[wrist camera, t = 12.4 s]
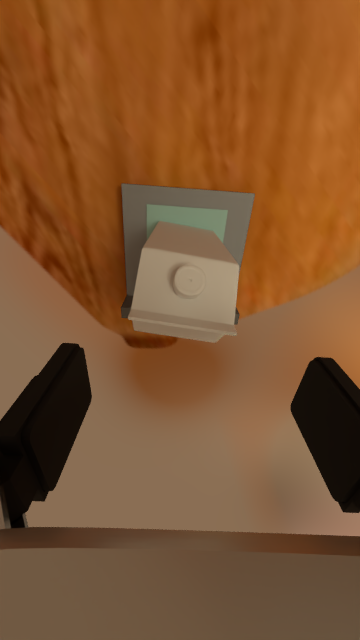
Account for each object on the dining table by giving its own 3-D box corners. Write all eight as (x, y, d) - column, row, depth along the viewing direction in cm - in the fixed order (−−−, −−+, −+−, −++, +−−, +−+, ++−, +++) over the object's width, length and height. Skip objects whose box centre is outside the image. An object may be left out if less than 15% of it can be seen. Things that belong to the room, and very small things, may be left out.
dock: (126, 183, 30) (113, 183, 24) (248, 193, 31) (265, 194, 25) (131, 296, 38) (121, 317, 32) (228, 302, 39) (237, 324, 33)
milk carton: (201, 282, 34) (222, 375, 17) (152, 273, 33) (124, 361, 16) (214, 230, 30) (255, 284, 14) (159, 220, 30) (132, 262, 13)
